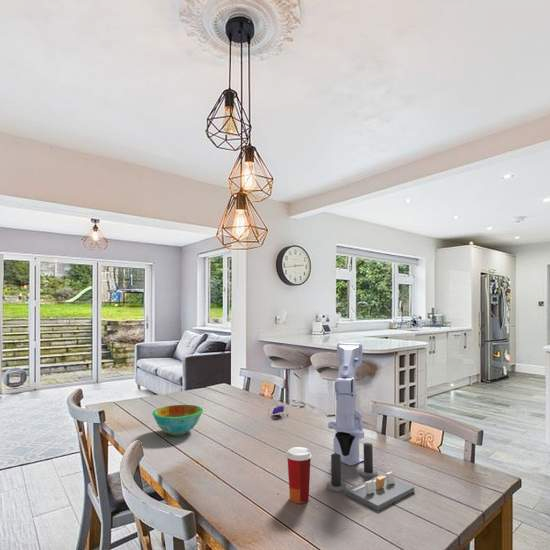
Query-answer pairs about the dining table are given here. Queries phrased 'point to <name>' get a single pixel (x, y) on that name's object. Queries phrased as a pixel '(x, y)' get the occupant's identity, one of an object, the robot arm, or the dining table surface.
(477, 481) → the dining table surface
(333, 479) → the rubber post
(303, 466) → the paper cup
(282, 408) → the game controller
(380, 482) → the block
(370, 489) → the block
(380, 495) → the breaker panel
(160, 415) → the bowl
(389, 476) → the block
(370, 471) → the rubber post
